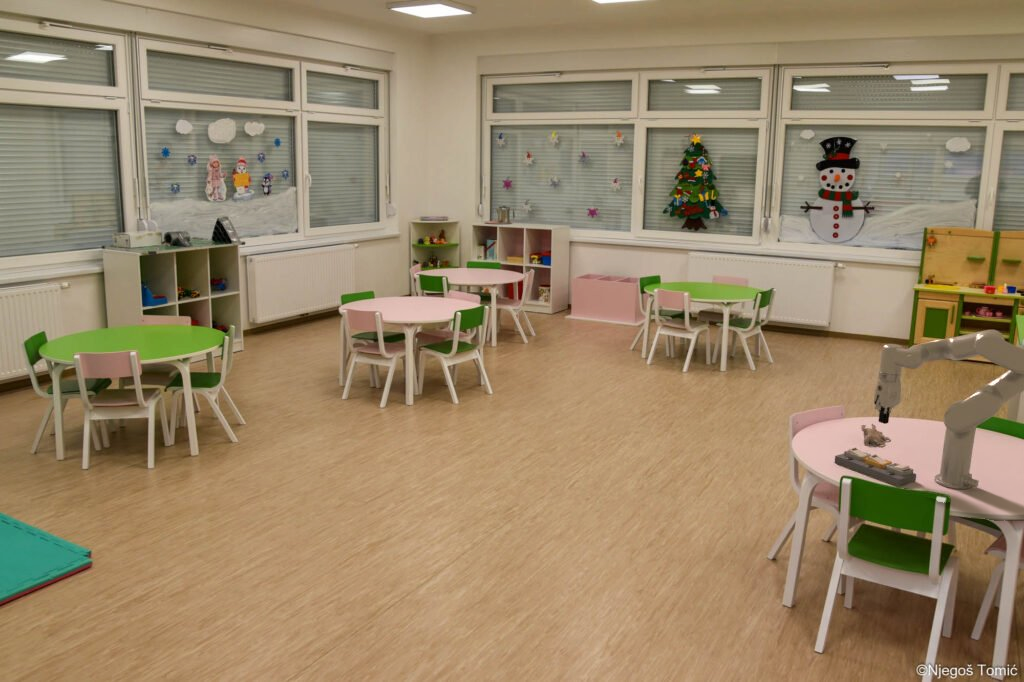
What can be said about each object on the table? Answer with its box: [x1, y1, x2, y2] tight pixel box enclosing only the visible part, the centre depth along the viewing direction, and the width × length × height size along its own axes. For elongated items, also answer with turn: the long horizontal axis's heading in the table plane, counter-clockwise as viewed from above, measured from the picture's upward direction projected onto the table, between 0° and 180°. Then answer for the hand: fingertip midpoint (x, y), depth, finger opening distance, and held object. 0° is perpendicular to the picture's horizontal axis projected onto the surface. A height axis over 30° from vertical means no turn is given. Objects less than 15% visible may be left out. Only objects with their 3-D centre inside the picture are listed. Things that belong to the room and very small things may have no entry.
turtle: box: [860, 423, 892, 446], centre depth 355 cm, size 16×10×10 cm, turn 155°
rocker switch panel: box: [834, 449, 917, 488], centre depth 321 cm, size 28×10×4 cm, turn 32°
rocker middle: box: [869, 454, 887, 464], centre depth 321 cm, size 6×4×1 cm
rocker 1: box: [848, 447, 867, 456], centre depth 329 cm, size 6×4×1 cm
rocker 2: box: [890, 464, 911, 471], centre depth 314 cm, size 6×4×1 cm
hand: (883, 422), depth 322 cm, fingers closed
